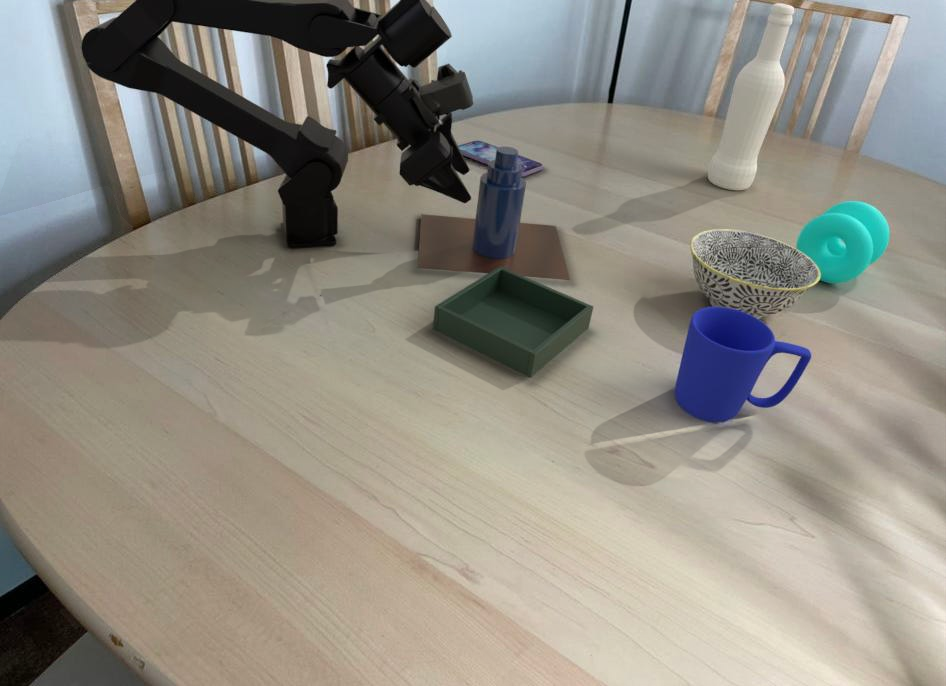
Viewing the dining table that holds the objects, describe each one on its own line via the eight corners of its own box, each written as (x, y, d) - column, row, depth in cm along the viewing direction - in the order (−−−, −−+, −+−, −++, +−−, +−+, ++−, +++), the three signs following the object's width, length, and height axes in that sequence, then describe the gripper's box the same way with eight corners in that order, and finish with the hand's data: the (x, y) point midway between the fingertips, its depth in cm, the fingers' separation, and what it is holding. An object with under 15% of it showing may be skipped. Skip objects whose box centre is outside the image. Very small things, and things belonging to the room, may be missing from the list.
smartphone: (477, 139, 137) (545, 164, 130) (476, 144, 137) (544, 169, 130) (452, 147, 131) (521, 173, 125) (451, 152, 132) (520, 178, 125)
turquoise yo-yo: (783, 268, 108) (808, 205, 103) (809, 249, 115) (834, 189, 109) (851, 297, 103) (881, 232, 97) (875, 275, 110) (904, 213, 104)
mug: (786, 447, 75) (823, 368, 69) (666, 422, 76) (693, 342, 70) (775, 398, 81) (808, 322, 76) (665, 375, 83) (689, 299, 77)
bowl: (714, 265, 107) (730, 217, 102) (819, 315, 98) (842, 264, 94) (652, 299, 97) (666, 247, 92) (763, 357, 88) (785, 303, 84)
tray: (432, 332, 85) (434, 306, 83) (496, 290, 94) (500, 265, 92) (529, 381, 79) (535, 354, 77) (587, 331, 89) (593, 306, 86)
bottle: (755, 183, 136) (816, 7, 119) (744, 196, 130) (805, 12, 113) (713, 170, 139) (765, -3, 122) (699, 182, 133) (753, 2, 116)
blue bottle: (501, 263, 99) (515, 163, 91) (463, 248, 101) (474, 149, 93) (523, 248, 103) (539, 151, 95) (487, 234, 106) (499, 138, 98)
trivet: (417, 271, 96) (417, 267, 96) (421, 217, 109) (421, 214, 109) (569, 283, 98) (570, 279, 97) (555, 229, 111) (555, 225, 111)
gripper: (437, 69, 79) (523, 177, 87) (439, 30, 95) (512, 124, 102) (360, 133, 83) (449, 231, 90) (374, 85, 99) (449, 172, 106)
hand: (467, 186), depth 97 cm, fingers open, 9 cm apart
